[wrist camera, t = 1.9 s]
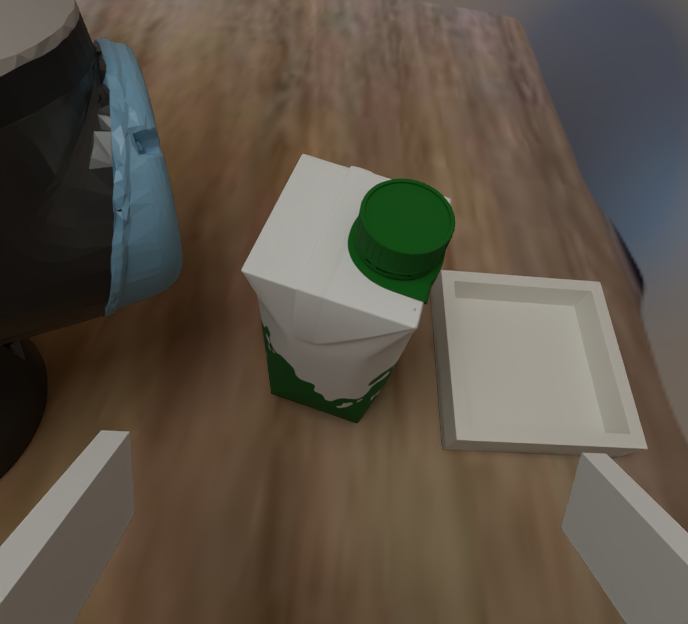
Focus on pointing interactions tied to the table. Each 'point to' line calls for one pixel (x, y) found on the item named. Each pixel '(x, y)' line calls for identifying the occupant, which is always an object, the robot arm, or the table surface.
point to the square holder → (529, 367)
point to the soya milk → (344, 280)
